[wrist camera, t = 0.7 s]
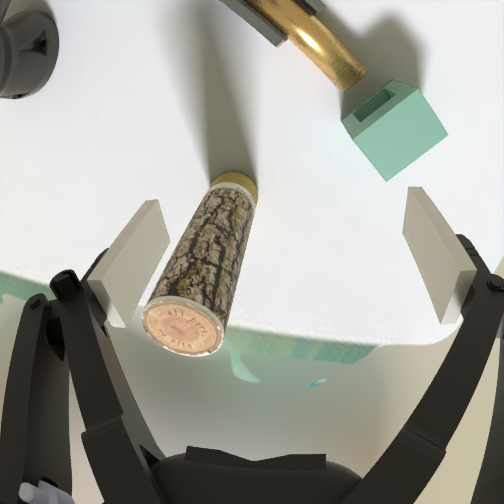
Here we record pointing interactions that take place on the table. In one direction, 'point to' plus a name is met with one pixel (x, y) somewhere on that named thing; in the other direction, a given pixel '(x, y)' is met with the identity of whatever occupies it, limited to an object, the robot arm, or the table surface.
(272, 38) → the grey bracket
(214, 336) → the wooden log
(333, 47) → the brass sliding bolt
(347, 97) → the table surface
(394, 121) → the socket block
